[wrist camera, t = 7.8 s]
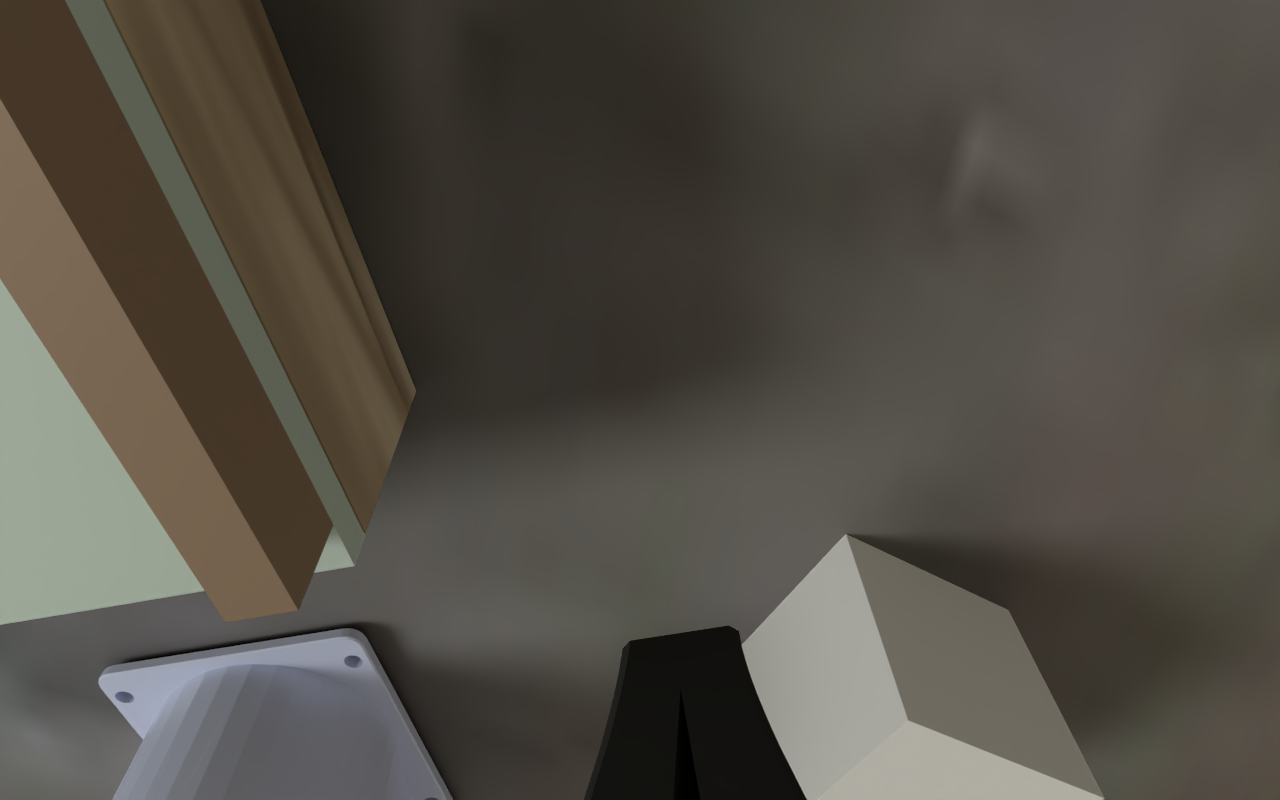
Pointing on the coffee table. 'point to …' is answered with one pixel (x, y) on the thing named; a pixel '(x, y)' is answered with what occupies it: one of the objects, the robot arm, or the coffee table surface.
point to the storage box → (277, 222)
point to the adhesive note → (908, 690)
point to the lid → (134, 359)
